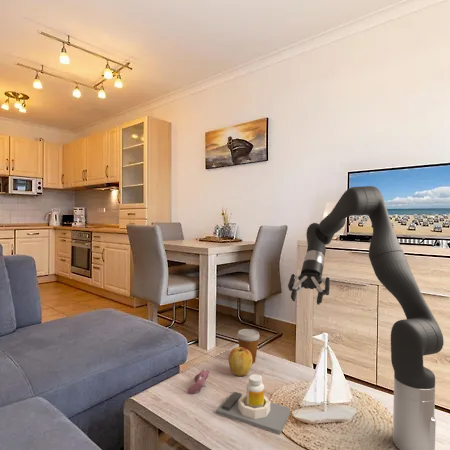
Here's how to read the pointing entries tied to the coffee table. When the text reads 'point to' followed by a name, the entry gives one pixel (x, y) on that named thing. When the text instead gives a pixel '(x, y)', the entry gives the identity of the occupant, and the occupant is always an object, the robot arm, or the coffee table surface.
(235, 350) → the apple
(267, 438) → the coffee table surface
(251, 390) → the supplement bottle
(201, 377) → the pink toy shoe
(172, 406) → the coffee table surface
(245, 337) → the disposable coffee cup
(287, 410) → the board
